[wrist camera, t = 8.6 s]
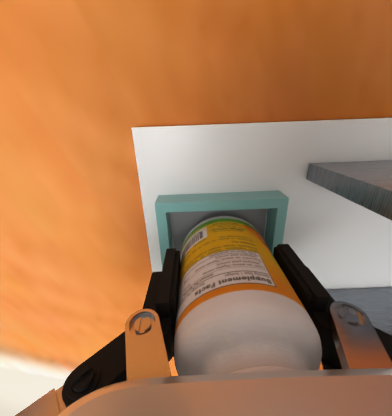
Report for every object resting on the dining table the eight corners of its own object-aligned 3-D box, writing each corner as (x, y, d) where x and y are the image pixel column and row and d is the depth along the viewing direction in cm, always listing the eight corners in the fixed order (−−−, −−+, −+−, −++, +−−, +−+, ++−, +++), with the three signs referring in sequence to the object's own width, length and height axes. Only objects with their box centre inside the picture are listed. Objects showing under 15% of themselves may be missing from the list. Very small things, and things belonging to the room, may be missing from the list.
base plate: (518, 112, 13) (597, 110, 10) (421, 303, 19) (456, 330, 16) (136, 127, 13) (123, 128, 10) (161, 314, 19) (157, 343, 16)
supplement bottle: (259, 278, 15) (360, 514, 6) (185, 283, 15) (174, 523, 6) (264, 210, 13) (431, 414, 4) (178, 215, 13) (145, 430, 4)
